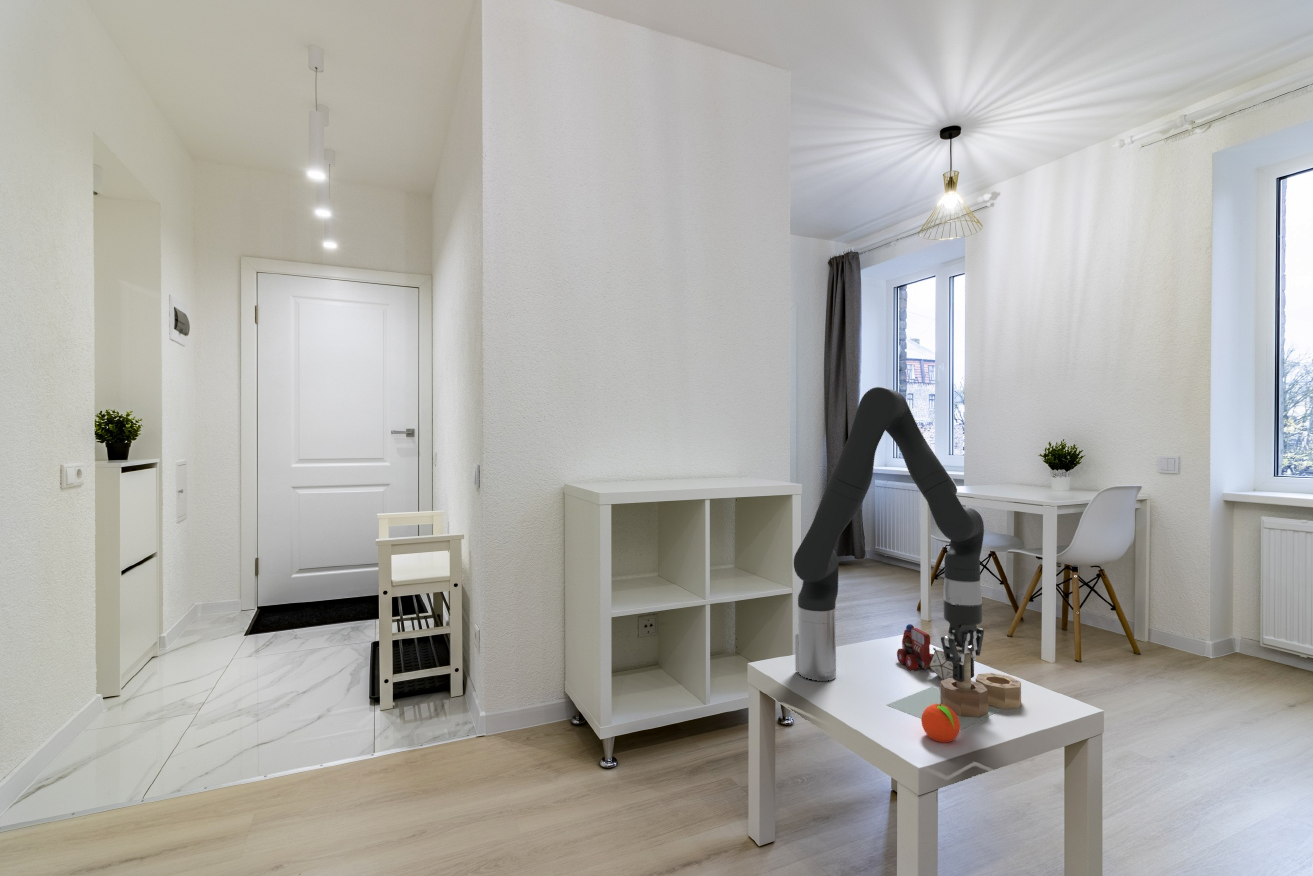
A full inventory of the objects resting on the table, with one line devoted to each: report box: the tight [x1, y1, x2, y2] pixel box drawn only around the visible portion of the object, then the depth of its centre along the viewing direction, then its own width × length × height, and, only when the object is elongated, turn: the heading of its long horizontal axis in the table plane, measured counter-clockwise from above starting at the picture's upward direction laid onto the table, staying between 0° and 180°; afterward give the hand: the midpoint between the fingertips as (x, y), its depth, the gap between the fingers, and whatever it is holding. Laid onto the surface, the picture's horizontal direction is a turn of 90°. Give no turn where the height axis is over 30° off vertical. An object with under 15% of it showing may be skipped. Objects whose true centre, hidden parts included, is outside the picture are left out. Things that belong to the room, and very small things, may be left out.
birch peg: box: [957, 652, 972, 690], centre depth 135 cm, size 3×3×12 cm
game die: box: [926, 647, 953, 681], centre depth 153 cm, size 9×8×10 cm
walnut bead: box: [939, 678, 989, 718], centre depth 135 cm, size 9×9×5 cm
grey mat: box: [886, 686, 1001, 731], centre depth 135 cm, size 16×18×1 cm
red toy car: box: [896, 623, 933, 672], centre depth 163 cm, size 7×12×10 cm, turn 4°
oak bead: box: [975, 672, 1022, 710], centre depth 139 cm, size 9×9×5 cm
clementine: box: [920, 704, 961, 743], centre depth 121 cm, size 8×7×7 cm
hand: (963, 678), depth 135 cm, fingers open, 3 cm apart
